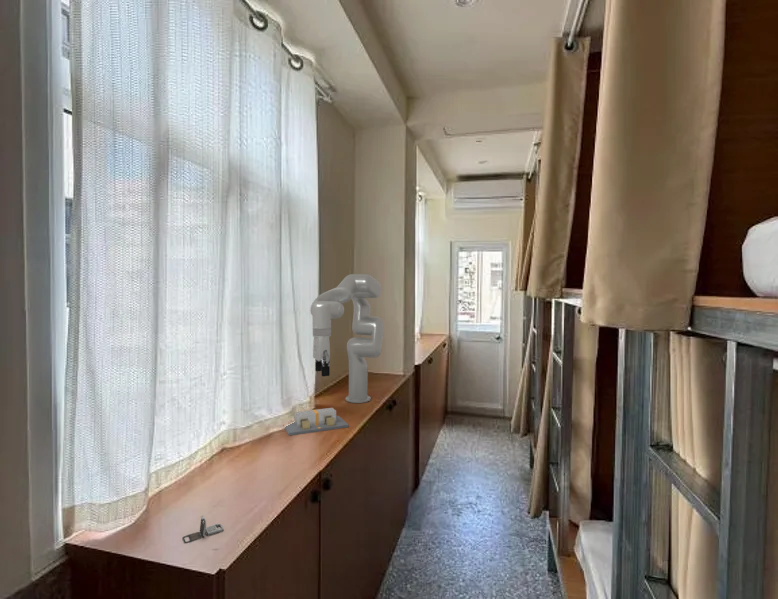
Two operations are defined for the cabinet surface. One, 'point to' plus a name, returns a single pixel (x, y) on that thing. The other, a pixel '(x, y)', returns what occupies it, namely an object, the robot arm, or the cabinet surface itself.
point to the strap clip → (204, 531)
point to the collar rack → (307, 428)
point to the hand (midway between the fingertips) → (322, 373)
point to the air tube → (314, 416)
